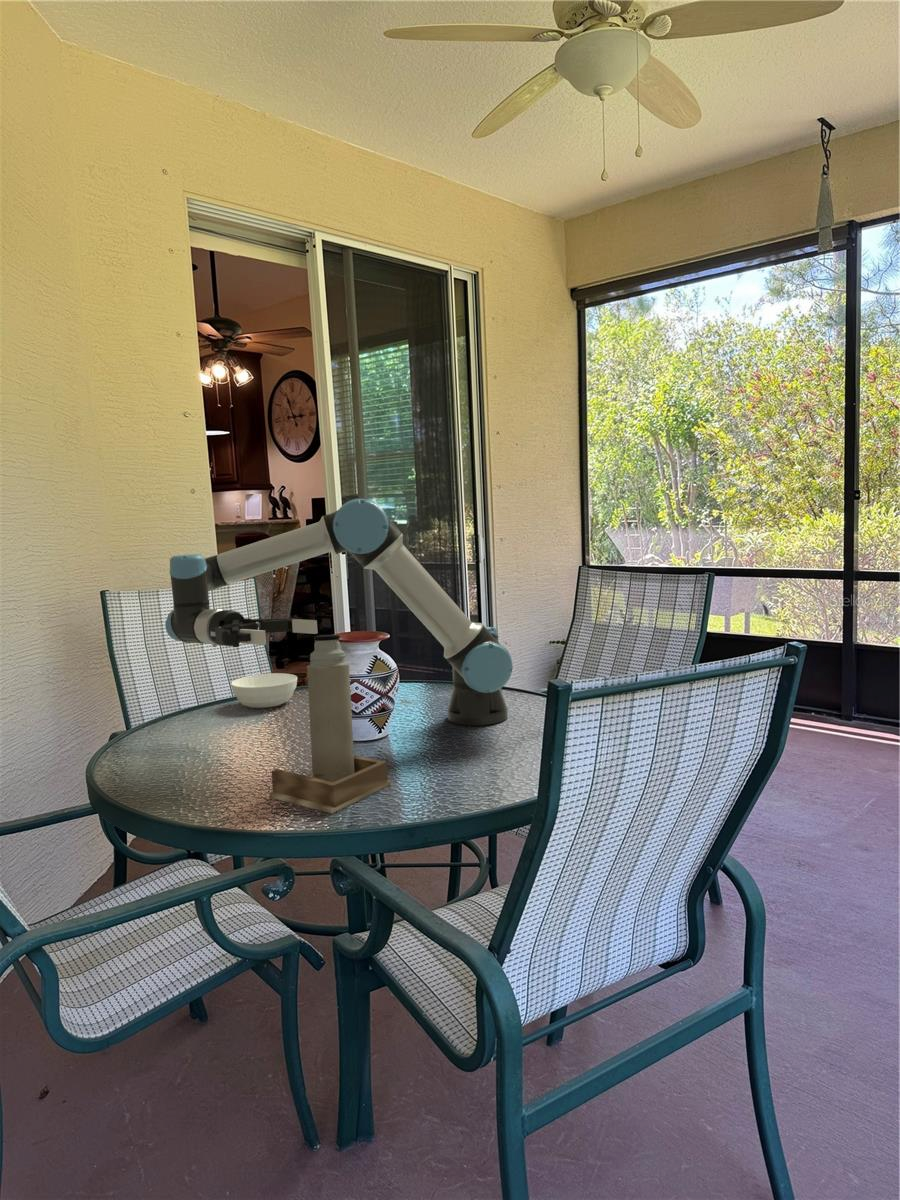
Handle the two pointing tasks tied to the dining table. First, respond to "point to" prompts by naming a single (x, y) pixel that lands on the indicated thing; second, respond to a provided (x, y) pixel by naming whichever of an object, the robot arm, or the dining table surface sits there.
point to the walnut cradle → (331, 786)
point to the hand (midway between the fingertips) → (291, 632)
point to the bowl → (264, 689)
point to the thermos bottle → (330, 710)
